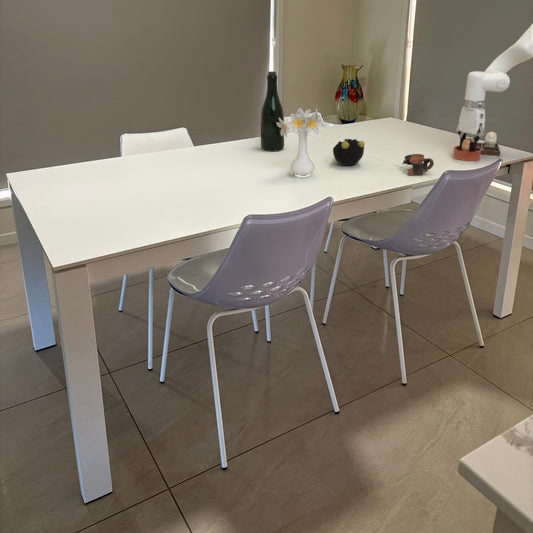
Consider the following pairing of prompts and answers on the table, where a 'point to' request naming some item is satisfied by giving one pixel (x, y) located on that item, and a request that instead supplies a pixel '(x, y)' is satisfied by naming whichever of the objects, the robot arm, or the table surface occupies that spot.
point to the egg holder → (489, 149)
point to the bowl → (466, 154)
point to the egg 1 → (466, 144)
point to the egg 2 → (490, 139)
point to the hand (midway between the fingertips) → (467, 149)
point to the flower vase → (302, 139)
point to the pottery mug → (418, 164)
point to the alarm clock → (348, 151)
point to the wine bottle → (271, 117)
